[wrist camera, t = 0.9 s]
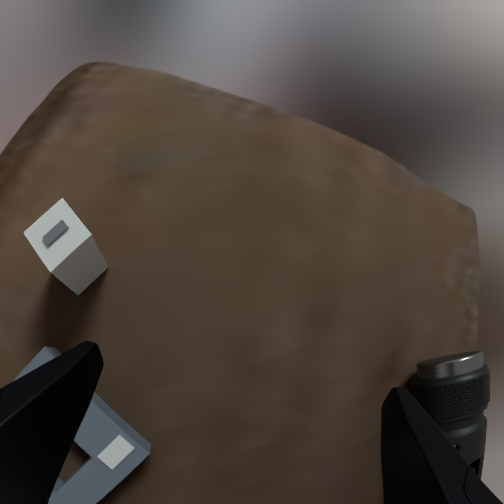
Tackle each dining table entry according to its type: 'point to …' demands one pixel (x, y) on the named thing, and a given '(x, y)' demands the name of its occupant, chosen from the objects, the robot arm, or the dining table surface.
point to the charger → (66, 247)
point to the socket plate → (96, 449)
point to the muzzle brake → (457, 401)
